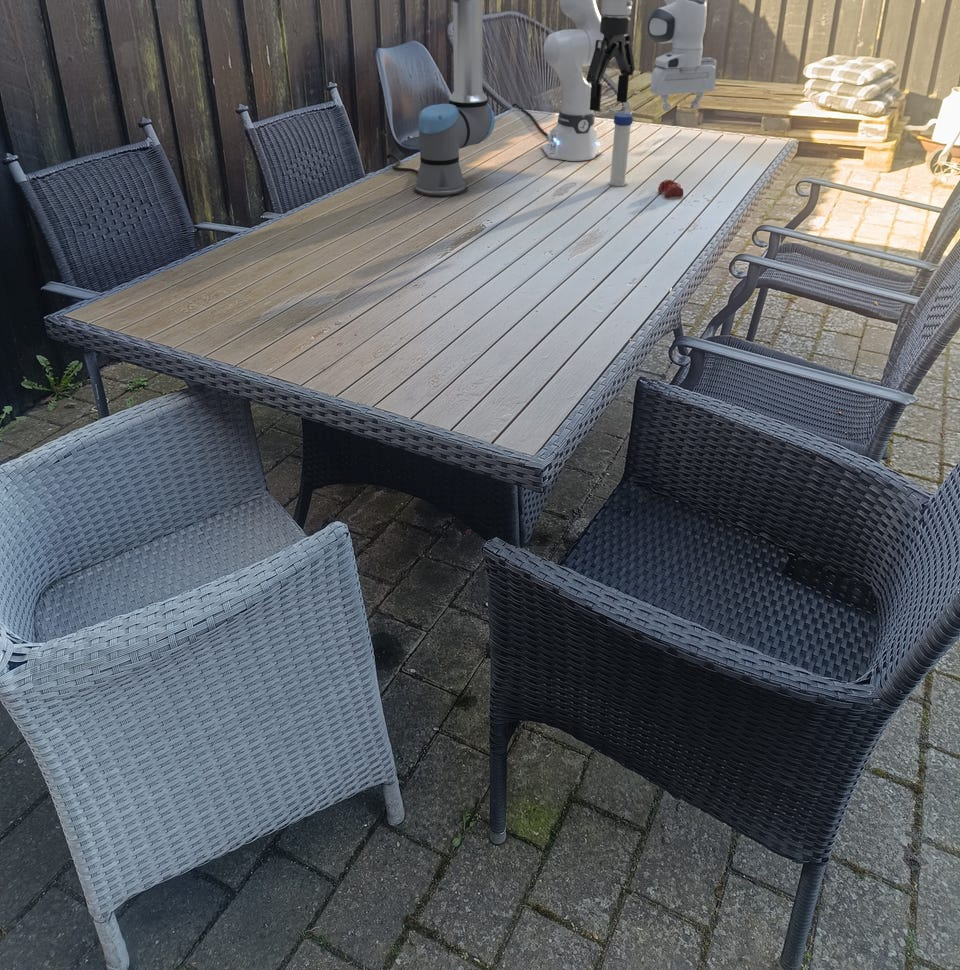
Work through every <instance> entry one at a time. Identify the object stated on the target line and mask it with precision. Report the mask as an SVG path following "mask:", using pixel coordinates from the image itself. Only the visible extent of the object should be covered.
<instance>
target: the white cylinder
mask: <svg viewBox="0 0 960 970" xmlns="http://www.w3.org/2000/svg"><path fill="white" fill-rule="evenodd" d="M631 127H632V124H631V125H617V124H614V129H613V130H614V131H613V142H612V153H611V164H610V175H609V176H610V177H609V185H610V186H612V187H623V186H626V178H627V168H628V159H629V158H628V157H629V148H630V140H631V139H630V138H631Z"/></svg>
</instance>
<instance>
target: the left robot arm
mask: <svg viewBox="0 0 960 970" xmlns="http://www.w3.org/2000/svg"><path fill="white" fill-rule="evenodd" d="M483 1H484V0H451V3H452V4H451V5H452V54H453V58H452V59H453V60H452V61H453V92H452V94H451V95H450V96H449V97H448V103H438V104H431V105H428V106H426V107H424V108H423V109H422V110H421V111H420V112H419V114H418V115H419V116H418V126H417V127H418V137H419V138H418V139H419V157H420V158H419V159H420V161H419V162H420V164H419V168H418V170H417V169H415V168H411V167H399V165H400V163H401V160H400V159H399V157H398V156H397V155H395V154H393V153H388V154H387V155H386V159H390V158H393V159H394V160H395V161H396V162H395V163H393V164H392V165H394V164H395V165H394V166H391V168H392V169H393V170H395V171H399V172H411V173H415V174H417V176H416V180H415V185H414V186H415V192H417V193H418V194H420V195H424V196H430V197H450V196H455V195H459V194H461V193H463V192H464V191H466V181H465V179H464V176H463V172H462V169H461V165H460V149H463V148H467V147H470V146H474V145H475V146H476V145H479V144H480V143H482V142H484V141H486V140H487V139H488V138H489V137H490V136H491V135H492V133H493V131H494V128H495V123H496V117H495V113H494V110H492V106H491V105H490V104H489V103H488V96H487V95H486V94H485V93H484V91H483V16H484V15H483V14H484V13H483V8H484V7H483V3H484V2H483ZM632 6H633V0H601V8H600V9H601V10H600V15H601V17H602V18H601V23H600V32H601V33H602V34H603V35H604V38H603V40H596V45H595V51H594V54H593V58H592V61H591V65H590V66H589V67H588V71H587V75H586V78H585V79H586V81H587V82H588V83H591V98H590V110H594V112H595V111H596V112H600V111H601V102H602V88H603V84H602V83H601V81H602V80H603V77H604V75H605V72H606V70H607V68H608V65H609V63H610V62H611V61H610V60H612V58H614V59H615V60H616V63H617V67H618V70H619V72H620V74H619V75H618V79H617V80H618V82H617V92H616V102H619V103H627V101H628V94H629V93H628V91H629V82H630V79H629V78H630V77H632V76H634V72H635V70H636V69H635V62H634V55H633V47H632V35H631V34H629V33H630V29H631V18H630V15H631V14H632ZM612 61H613V60H612Z"/></svg>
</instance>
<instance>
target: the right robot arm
mask: <svg viewBox="0 0 960 970" xmlns="http://www.w3.org/2000/svg"><path fill="white" fill-rule="evenodd" d="M663 1H664V3H665V5H664V6H661V7H658V8H655V9H654V10H653V11H651V13H650V14H649V17H648V19H647V22H646V31H647V35H648V37H649V39H650V40H651V41H652V42H653V43H655V44H662V45H663V44H672V47H671V50H670V51H669V52H666V53H664V54H662V55H660V56H657V57H656V58H655V60H654V64H655V68H653V70H652V74H651V78H650V86H649V90H650V91H649V92H650V93H651V94H652V95H654V96H660V99H661V102H662V110H663V111H665V112H666V111H670V110H671V103H668V100H667V99H669V95H681V94H683V95H684V94H694V95H695V97H694V99H693V100H692V101H690V108H691V109H698V108H699V102H700V101H701V99H702V98H703V97H704V93H708V92H709V93H710V92H713V91H714V90H715V87H716V70H717V64H718V63H717V60H716V59H715V58H714V57H712V56H711V57H710V56H709V57H703V50H704V45H703V44H704V43H703V39H704V35H705V32H706V28H707V17H708V16H707V15H708V6H707V1H706V0H663ZM559 8H560V10H561V13H563V15H564V16H566V17H568V18H569V19H571V21H572V22H573V24H574V26H575V27H576V28H569V29H561V30H558V31H554V32H552V33H549V34H548V35H547V37H546V38H545V41H544V44H543V57H544V60H545V61H546V63H547V64H548V66H549V67H550V68H552V69H553V71H554V72H555V73H556V76H557V78H558V80H559V85H560V111H558V116H557V123H556V125H555V126H554V127H553V128H552V129H551V130H550V131H549V133H547V132H546V131H544V130H543V128H542V127H541V126H540V125H539V123H538V122H537V120H536V119H535V118H534V117H533V115H532V114H531V113H530V112H529V111H527V110H526V109H524V108H523V107H522V106H520V105H519V104H518V103H516V102H514V103H513V104H512V107H514V108H515V107H516V108H517V109H518V110H520V111H522V112H523V113H525V114H526V115H527V116H528V117H529V118H531V120H532V121H533V123H534V124H535V126H536V127H537V129H538V130H539V131H540V132H541V133H542V134H543V135H544V136H545V137H546V141H547V142H548V143H545V144H542V145H541V149H542V150H543V152H544V153H545V155H546V156H547V157H548V159H552V160H553V159H554V160H562V161H570V162H581V161H583V162H584V161H589V160H592V159H595V158H596V157H597V156H599V155H601V150H599V149H598V146H601V143H600V142H598V130H597V128H596V127H595V126H594V125H595V119H596V113H595V111H594V110H590V98H591V83H588V82H587V81H586V78H585V77H584V72H583V68H584V67H590V65H591V61H592V58H593V54H594V51H595V45H596V40H603V38H604V35H603V34H602V33H601V32H600V23H601V18H602V17H603V16H602V15H601V12H600V11H599V8H598V6H597V0H559ZM614 59H615V57H614V58H612V60H610V61H609V62H612V61H613V60H614Z"/></svg>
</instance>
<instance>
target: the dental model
mask: <svg viewBox="0 0 960 970" xmlns="http://www.w3.org/2000/svg"><path fill="white" fill-rule="evenodd" d="M657 189H658V190H657V191H658V192H657V193H658V194H659V193H664V198H665V199H670V198H680V197H683V196H684V189H683V188H682V185H681V183H679V182H676V181H674V180H673V179H665V180H663V181H661V182H660V183H659V185H658V188H657Z"/></svg>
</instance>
